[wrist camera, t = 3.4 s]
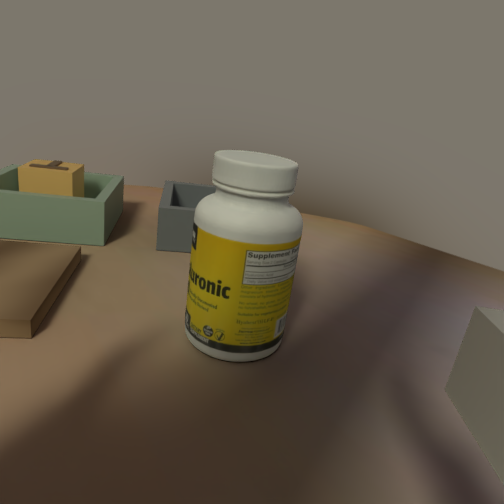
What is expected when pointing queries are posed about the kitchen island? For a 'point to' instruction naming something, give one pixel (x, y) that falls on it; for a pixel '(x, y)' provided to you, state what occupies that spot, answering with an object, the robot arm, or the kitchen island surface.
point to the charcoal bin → (179, 214)
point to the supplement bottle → (243, 257)
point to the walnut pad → (31, 283)
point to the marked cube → (52, 178)
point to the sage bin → (61, 210)
